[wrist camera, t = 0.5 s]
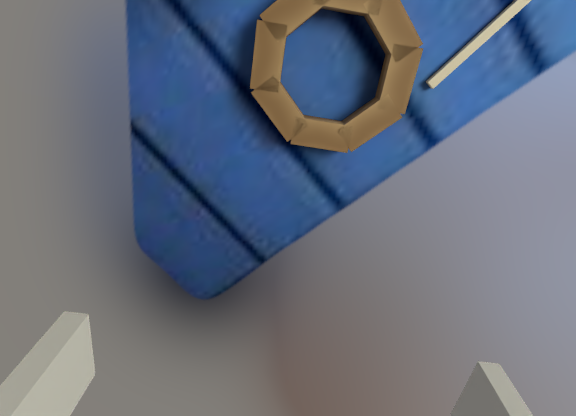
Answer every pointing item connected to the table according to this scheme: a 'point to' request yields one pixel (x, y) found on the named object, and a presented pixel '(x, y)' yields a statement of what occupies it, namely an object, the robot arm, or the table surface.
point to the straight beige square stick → (476, 42)
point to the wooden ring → (370, 117)
